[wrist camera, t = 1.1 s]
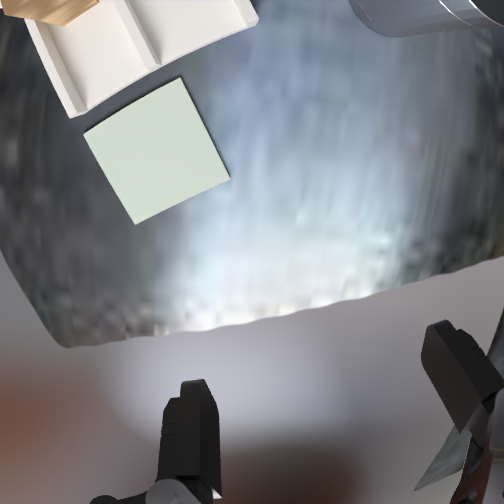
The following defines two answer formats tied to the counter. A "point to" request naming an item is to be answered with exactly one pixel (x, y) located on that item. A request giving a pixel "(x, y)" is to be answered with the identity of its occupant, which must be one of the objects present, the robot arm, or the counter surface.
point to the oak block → (48, 9)
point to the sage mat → (157, 152)
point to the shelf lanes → (129, 43)
